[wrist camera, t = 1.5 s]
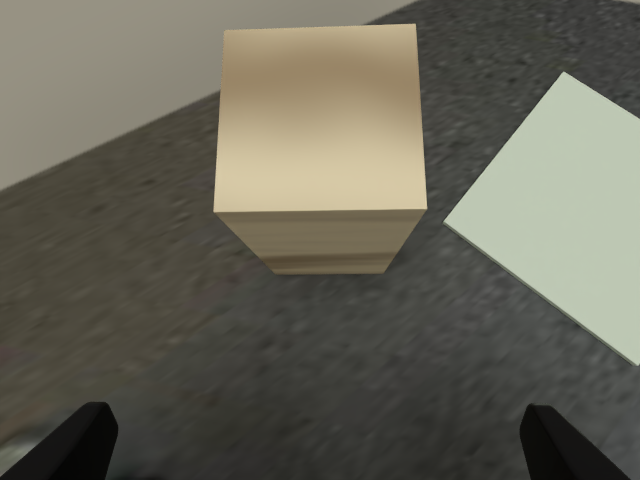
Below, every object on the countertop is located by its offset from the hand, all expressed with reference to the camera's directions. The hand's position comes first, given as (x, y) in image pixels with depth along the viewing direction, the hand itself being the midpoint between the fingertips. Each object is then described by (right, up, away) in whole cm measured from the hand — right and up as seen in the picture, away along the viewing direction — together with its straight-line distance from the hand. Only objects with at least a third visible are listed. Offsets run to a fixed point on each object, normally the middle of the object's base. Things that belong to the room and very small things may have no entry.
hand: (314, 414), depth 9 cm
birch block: (+1, +5, +15) cm, 16 cm away
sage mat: (+15, +6, +15) cm, 22 cm away
